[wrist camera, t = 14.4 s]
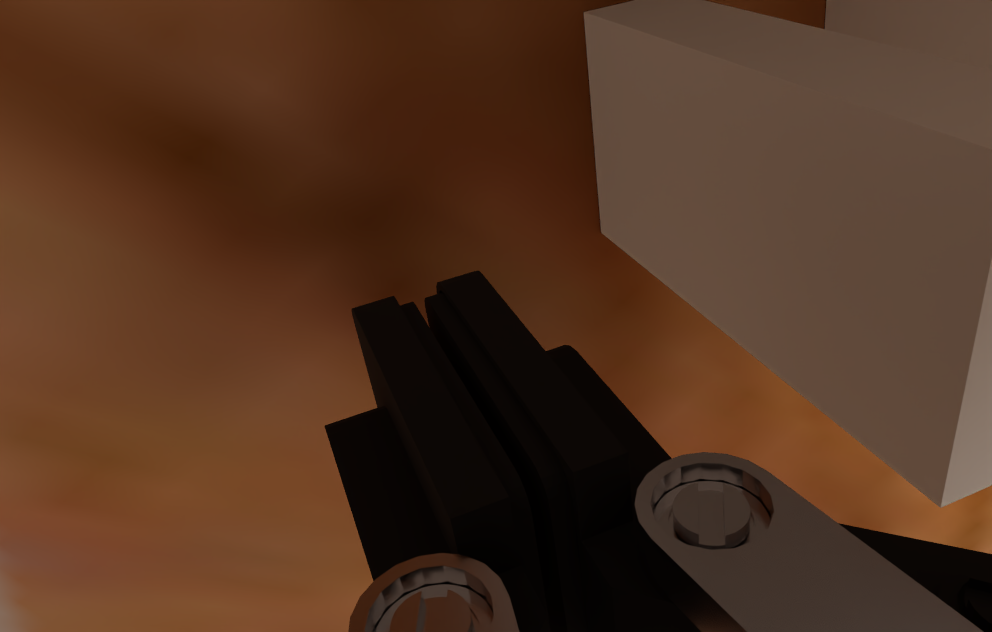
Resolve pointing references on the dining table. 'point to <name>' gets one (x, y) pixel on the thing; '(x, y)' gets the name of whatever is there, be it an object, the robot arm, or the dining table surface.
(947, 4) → the tile
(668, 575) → the robot arm
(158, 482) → the dining table surface
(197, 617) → the dining table surface
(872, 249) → the end tile
